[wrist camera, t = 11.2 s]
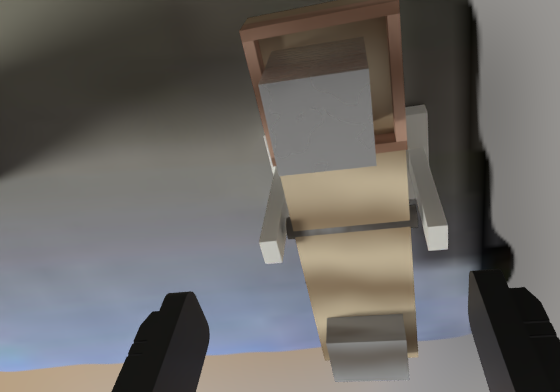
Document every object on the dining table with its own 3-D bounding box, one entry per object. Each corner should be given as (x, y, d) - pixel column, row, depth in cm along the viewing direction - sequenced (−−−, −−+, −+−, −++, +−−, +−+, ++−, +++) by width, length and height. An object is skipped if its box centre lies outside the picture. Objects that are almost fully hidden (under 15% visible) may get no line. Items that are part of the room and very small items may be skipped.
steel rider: (287, 132, 27) (278, 176, 23) (271, 51, 25) (258, 84, 21) (371, 122, 27) (376, 165, 22) (363, 36, 24) (368, 68, 20)
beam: (421, 341, 40) (429, 383, 36) (320, 346, 41) (318, 386, 38) (402, -13, 24) (413, 4, 20) (239, 19, 25) (224, 39, 22)
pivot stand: (427, 187, 40) (454, 281, 31) (284, 203, 43) (269, 293, 33) (424, 104, 36) (454, 184, 26) (265, 127, 38) (242, 207, 29)
